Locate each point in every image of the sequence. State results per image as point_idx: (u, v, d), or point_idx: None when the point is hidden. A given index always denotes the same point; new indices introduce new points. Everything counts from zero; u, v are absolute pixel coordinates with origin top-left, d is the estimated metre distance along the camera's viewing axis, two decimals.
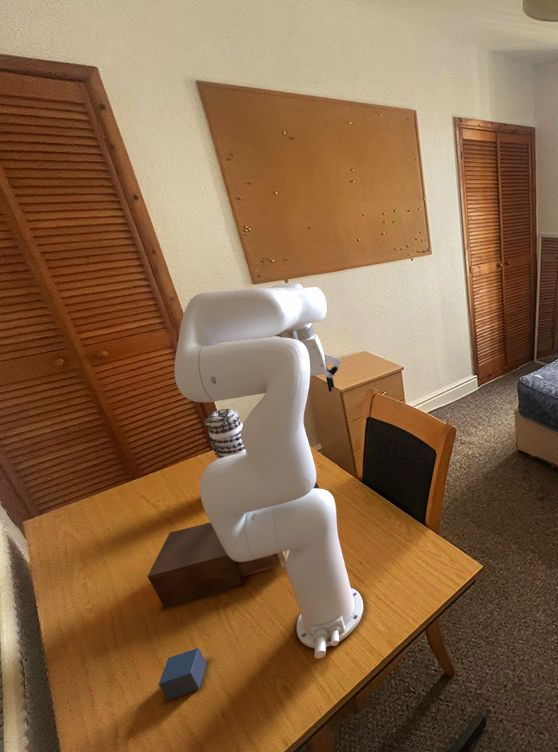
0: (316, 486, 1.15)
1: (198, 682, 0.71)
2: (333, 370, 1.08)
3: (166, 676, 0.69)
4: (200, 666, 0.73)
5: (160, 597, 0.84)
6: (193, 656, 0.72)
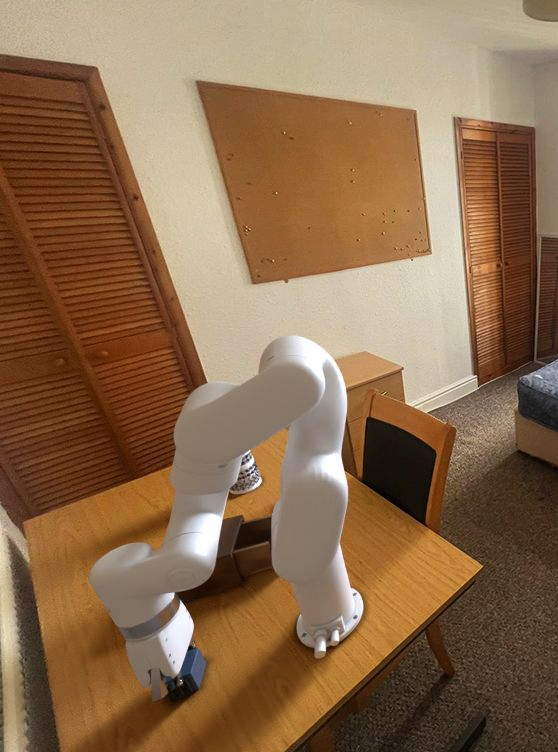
0: None
1: (198, 682, 0.71)
2: None
3: None
4: (200, 666, 0.73)
5: None
6: (193, 656, 0.72)
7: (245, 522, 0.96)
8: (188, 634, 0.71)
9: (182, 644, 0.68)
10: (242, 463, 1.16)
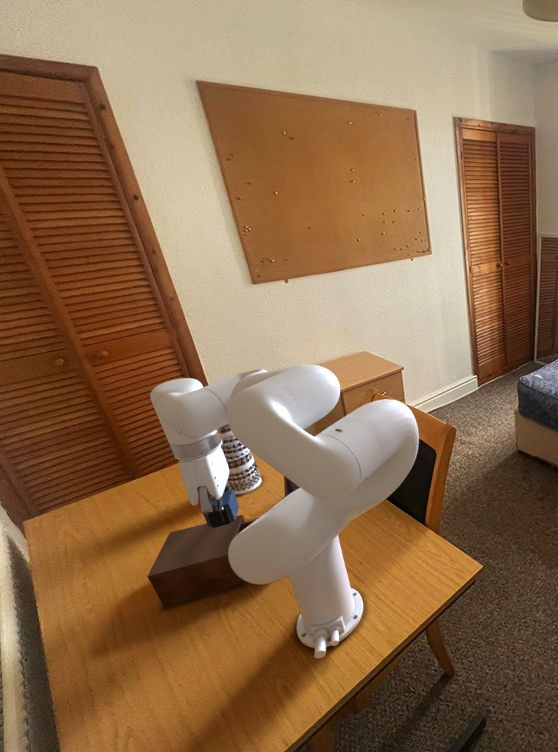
0: None
1: (234, 515, 0.82)
2: None
3: None
4: (234, 504, 0.84)
5: (160, 597, 0.84)
6: (229, 494, 0.83)
7: (245, 522, 0.96)
8: (226, 473, 0.82)
9: (223, 476, 0.80)
10: (242, 463, 1.16)
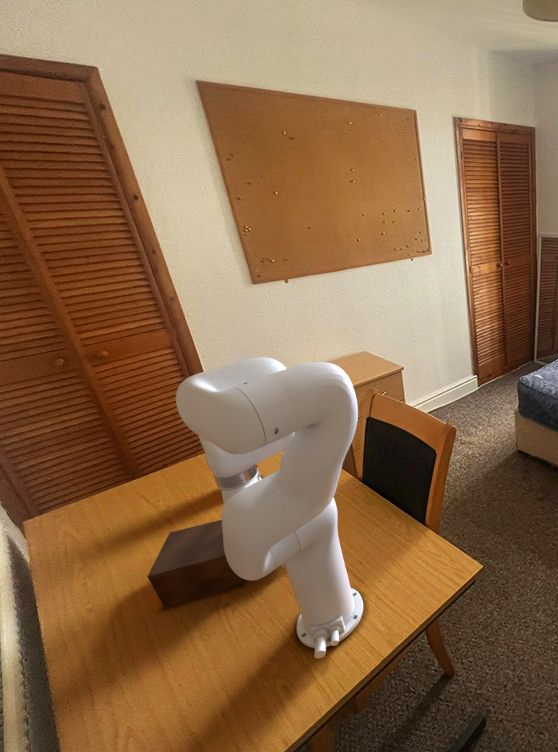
0: None
1: None
2: None
3: None
4: None
5: (160, 597, 0.84)
6: None
7: None
8: None
9: None
10: None
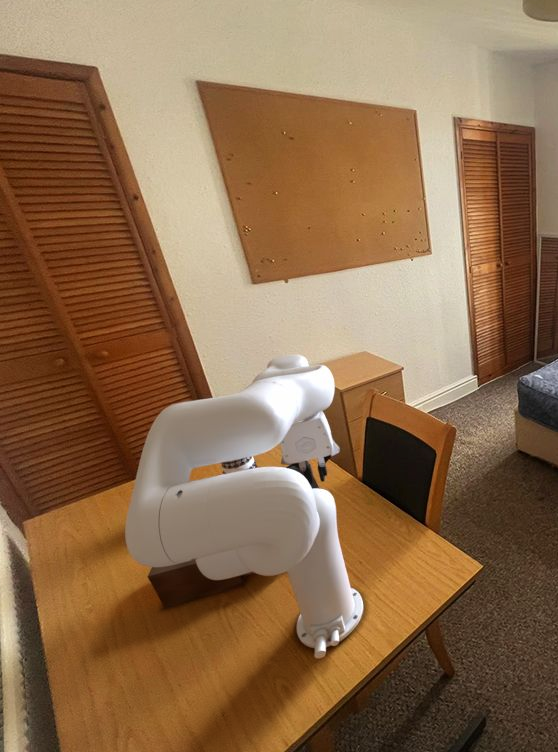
0: (316, 486, 1.15)
1: None
2: (326, 457, 0.92)
3: None
4: None
5: (160, 597, 0.84)
6: None
7: None
8: None
9: None
10: (242, 463, 1.16)
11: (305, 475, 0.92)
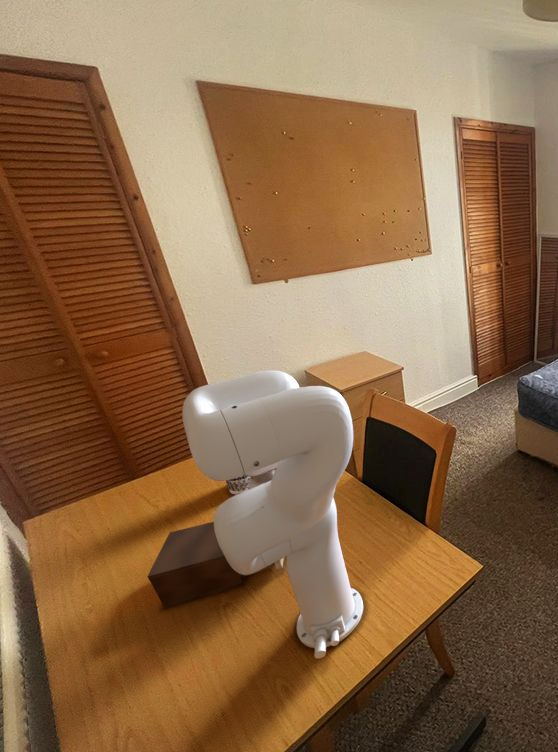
0: None
1: None
2: None
3: None
4: None
5: (160, 597, 0.84)
6: None
7: None
8: None
9: None
10: None
11: None
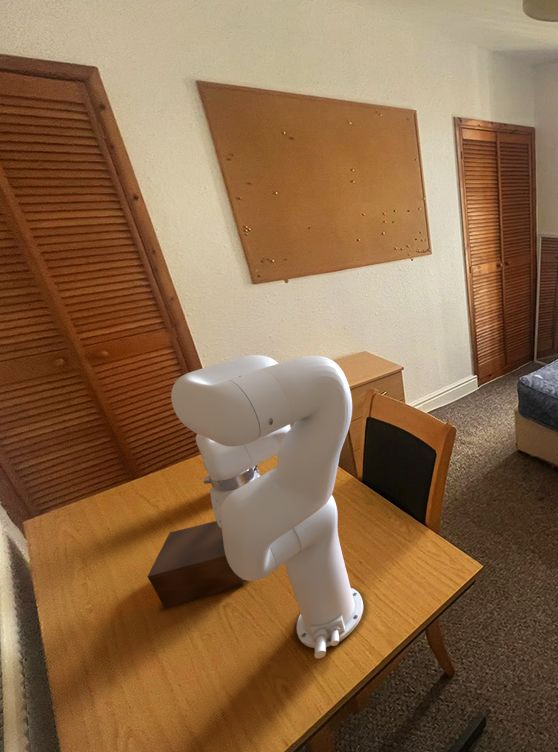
0: None
1: None
2: None
3: None
4: None
5: (160, 597, 0.84)
6: None
7: None
8: None
9: None
10: None
11: None
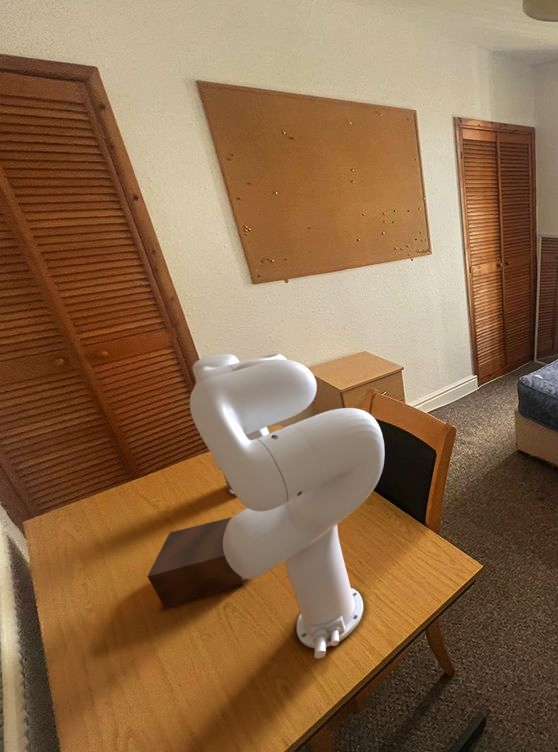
0: None
1: None
2: None
3: None
4: None
5: (160, 597, 0.84)
6: None
7: None
8: None
9: None
10: None
11: None
